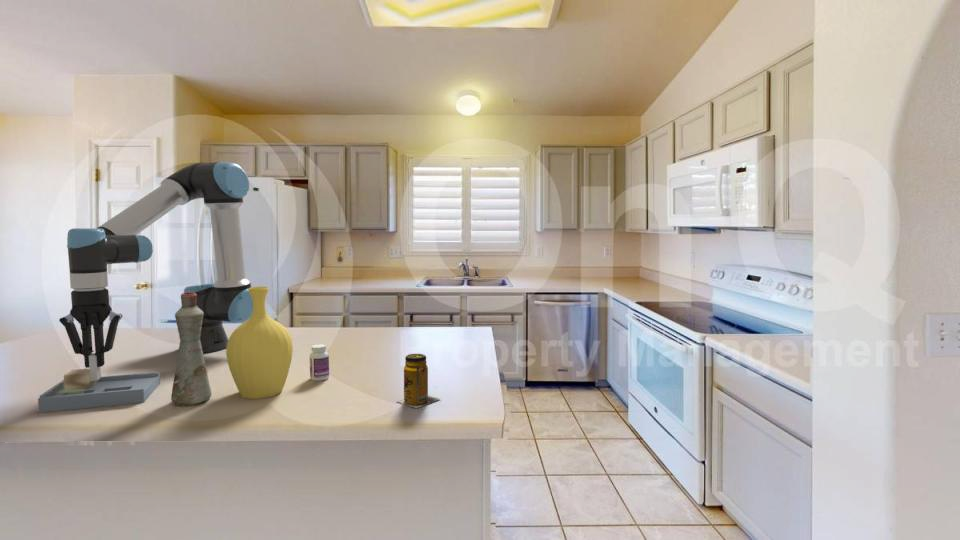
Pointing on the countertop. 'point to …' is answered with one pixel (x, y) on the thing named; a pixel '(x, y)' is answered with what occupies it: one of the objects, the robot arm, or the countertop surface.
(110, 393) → the blue gray tray
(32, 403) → the countertop surface
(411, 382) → the condiment
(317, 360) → the pill bottle
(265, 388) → the vase
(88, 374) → the block
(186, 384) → the bottle
